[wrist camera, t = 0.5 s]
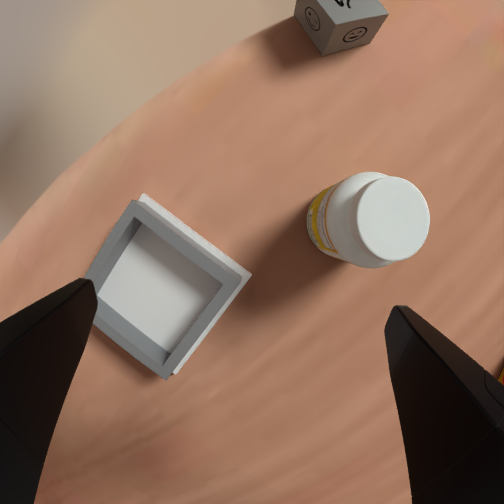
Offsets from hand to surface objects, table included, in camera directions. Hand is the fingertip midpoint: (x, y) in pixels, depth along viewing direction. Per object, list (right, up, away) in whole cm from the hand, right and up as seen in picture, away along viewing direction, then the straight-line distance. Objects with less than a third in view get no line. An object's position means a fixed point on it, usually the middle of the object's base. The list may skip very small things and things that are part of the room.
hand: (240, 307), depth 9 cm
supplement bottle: (+7, +4, +15) cm, 17 cm away
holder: (-7, -1, +15) cm, 16 cm away
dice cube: (+7, +21, +14) cm, 26 cm away
